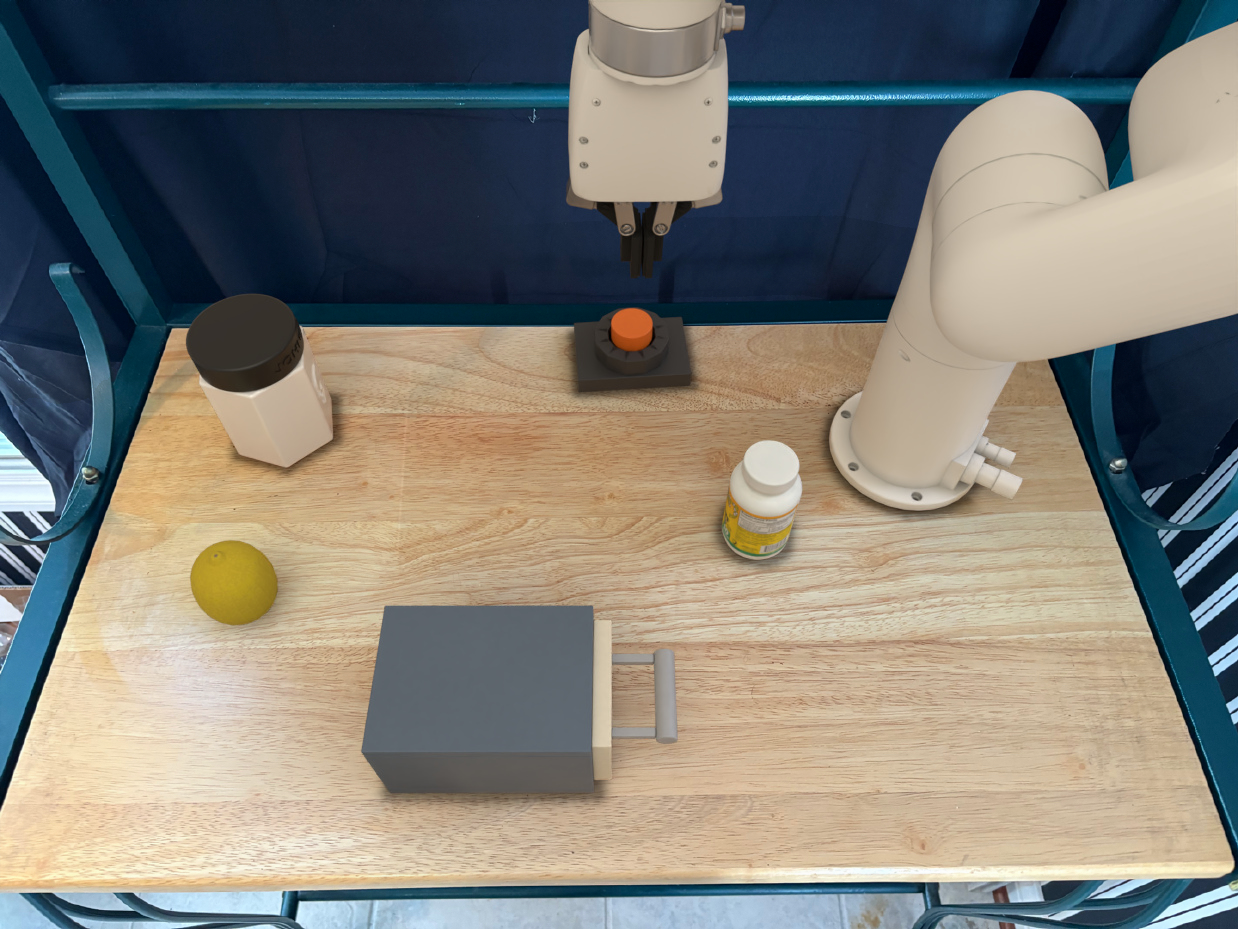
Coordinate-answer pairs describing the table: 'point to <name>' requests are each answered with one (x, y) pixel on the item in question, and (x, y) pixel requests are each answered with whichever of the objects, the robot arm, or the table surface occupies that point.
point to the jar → (261, 378)
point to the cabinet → (482, 700)
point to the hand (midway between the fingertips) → (640, 264)
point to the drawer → (602, 699)
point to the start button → (631, 329)
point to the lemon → (233, 582)
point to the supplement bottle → (762, 500)
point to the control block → (631, 357)
